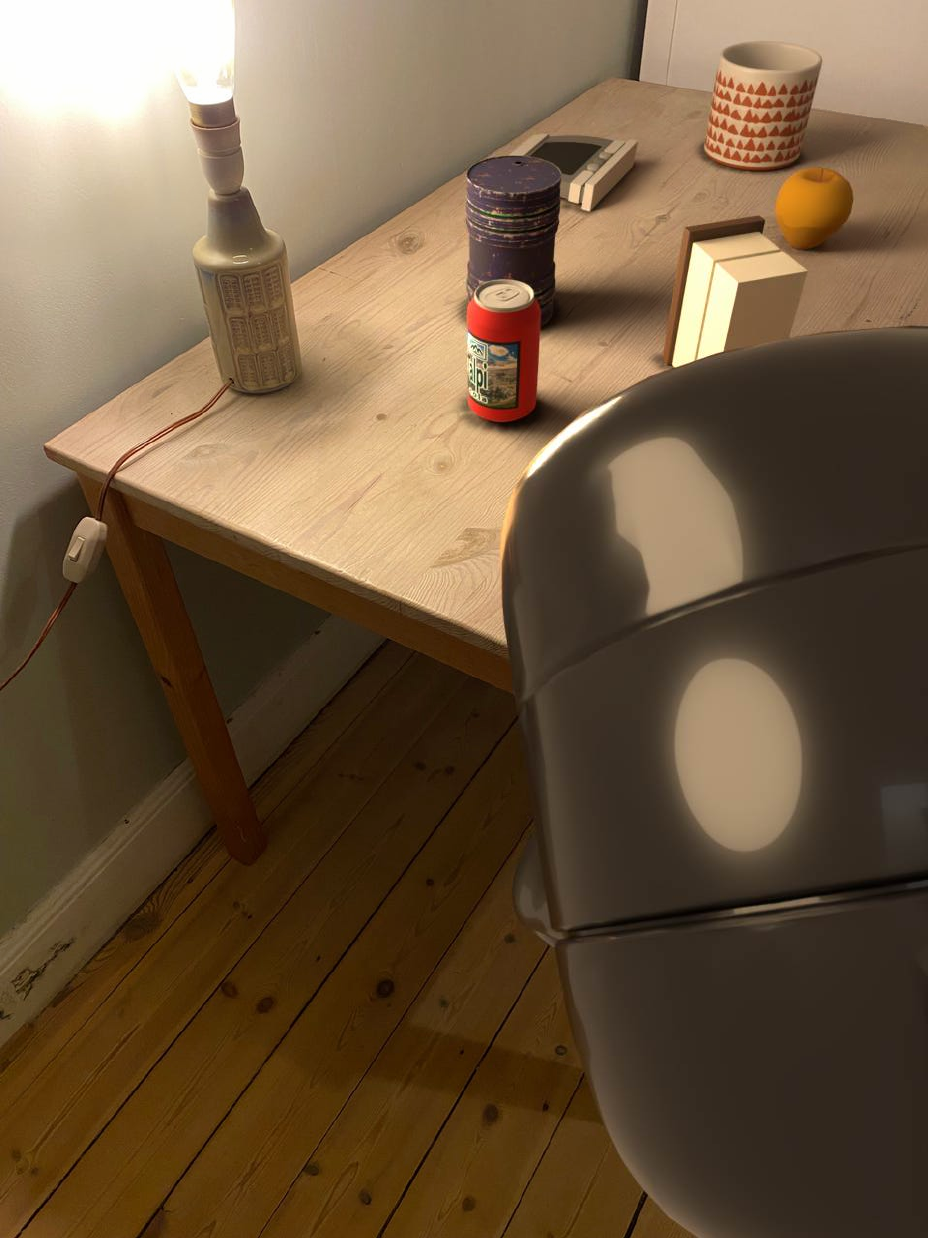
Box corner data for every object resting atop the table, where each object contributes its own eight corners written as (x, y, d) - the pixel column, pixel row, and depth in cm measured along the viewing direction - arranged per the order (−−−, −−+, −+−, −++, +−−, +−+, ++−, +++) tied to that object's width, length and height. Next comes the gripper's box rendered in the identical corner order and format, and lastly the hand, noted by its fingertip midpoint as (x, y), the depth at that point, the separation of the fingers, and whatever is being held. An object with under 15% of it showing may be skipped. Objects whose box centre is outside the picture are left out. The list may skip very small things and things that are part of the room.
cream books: (778, 395, 91) (816, 258, 81) (706, 409, 89) (735, 272, 79) (729, 346, 97) (759, 214, 87) (661, 359, 96) (683, 226, 85)
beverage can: (453, 407, 90) (450, 293, 81) (501, 381, 93) (503, 268, 84) (502, 436, 87) (504, 320, 78) (550, 407, 90) (557, 293, 81)
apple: (853, 258, 111) (877, 181, 104) (783, 264, 110) (802, 187, 103) (822, 226, 117) (842, 152, 110) (755, 231, 116) (772, 157, 109)
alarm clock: (594, 185, 118) (481, 154, 122) (588, 220, 122) (479, 189, 126) (638, 140, 129) (533, 113, 133) (631, 174, 132) (529, 146, 136)
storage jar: (547, 337, 99) (555, 196, 88) (458, 328, 100) (456, 189, 90) (559, 293, 106) (568, 157, 95) (475, 286, 107) (475, 151, 96)
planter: (739, 129, 140) (757, 34, 131) (817, 153, 133) (842, 54, 124) (684, 153, 134) (699, 55, 125) (763, 179, 127) (785, 77, 118)
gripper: (904, 679, 46) (973, 502, 55) (644, 577, 51) (747, 432, 61) (860, 764, 51) (929, 590, 61) (629, 664, 57) (725, 518, 66)
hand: (838, 511), depth 61 cm, fingers closed on ink box, 8 cm apart
